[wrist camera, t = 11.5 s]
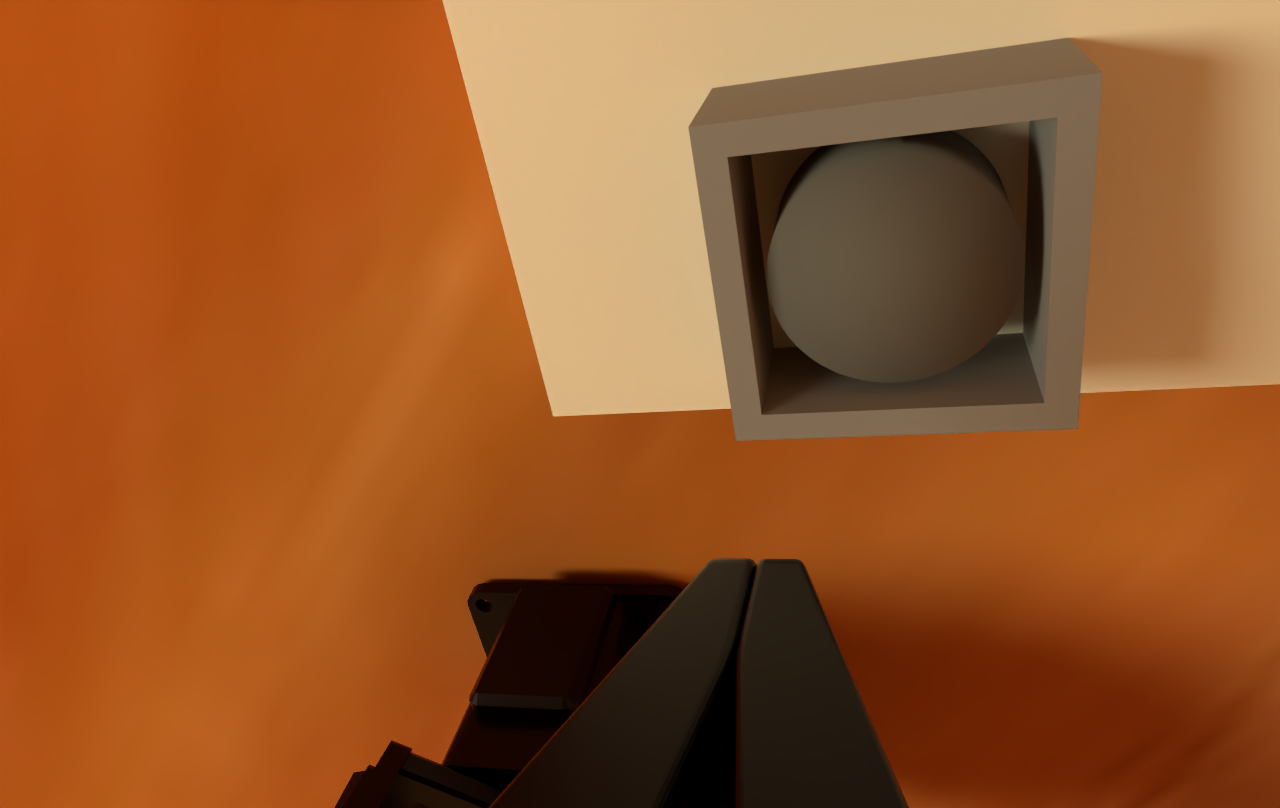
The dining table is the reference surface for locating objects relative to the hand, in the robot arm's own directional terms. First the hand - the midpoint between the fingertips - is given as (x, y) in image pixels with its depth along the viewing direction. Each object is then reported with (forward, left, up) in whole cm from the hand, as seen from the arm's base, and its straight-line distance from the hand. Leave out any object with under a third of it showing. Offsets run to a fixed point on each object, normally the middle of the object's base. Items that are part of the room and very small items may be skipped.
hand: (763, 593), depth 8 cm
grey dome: (0, -1, -9) cm, 9 cm away
